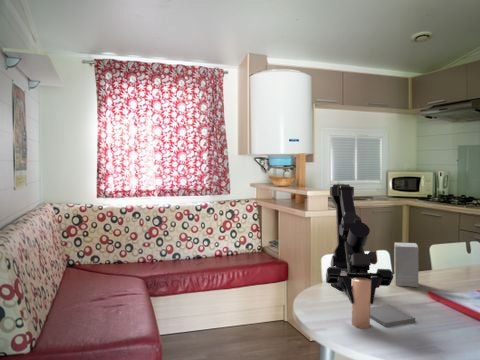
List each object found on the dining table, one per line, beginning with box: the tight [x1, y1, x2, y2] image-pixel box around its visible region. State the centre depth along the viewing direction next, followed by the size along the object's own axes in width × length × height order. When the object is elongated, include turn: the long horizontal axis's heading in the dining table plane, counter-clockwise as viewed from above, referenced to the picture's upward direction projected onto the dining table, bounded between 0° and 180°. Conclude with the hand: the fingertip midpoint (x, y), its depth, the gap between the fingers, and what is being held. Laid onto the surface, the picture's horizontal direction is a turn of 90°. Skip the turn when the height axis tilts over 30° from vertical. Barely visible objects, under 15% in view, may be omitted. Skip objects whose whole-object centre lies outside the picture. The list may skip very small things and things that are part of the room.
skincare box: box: [393, 242, 420, 288], centre depth 142 cm, size 8×7×16 cm
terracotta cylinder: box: [351, 277, 371, 329], centre depth 106 cm, size 5×5×13 cm
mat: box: [370, 304, 416, 328], centre depth 112 cm, size 11×11×1 cm
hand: (362, 303), depth 105 cm, fingers closed on terracotta cylinder, 5 cm apart
